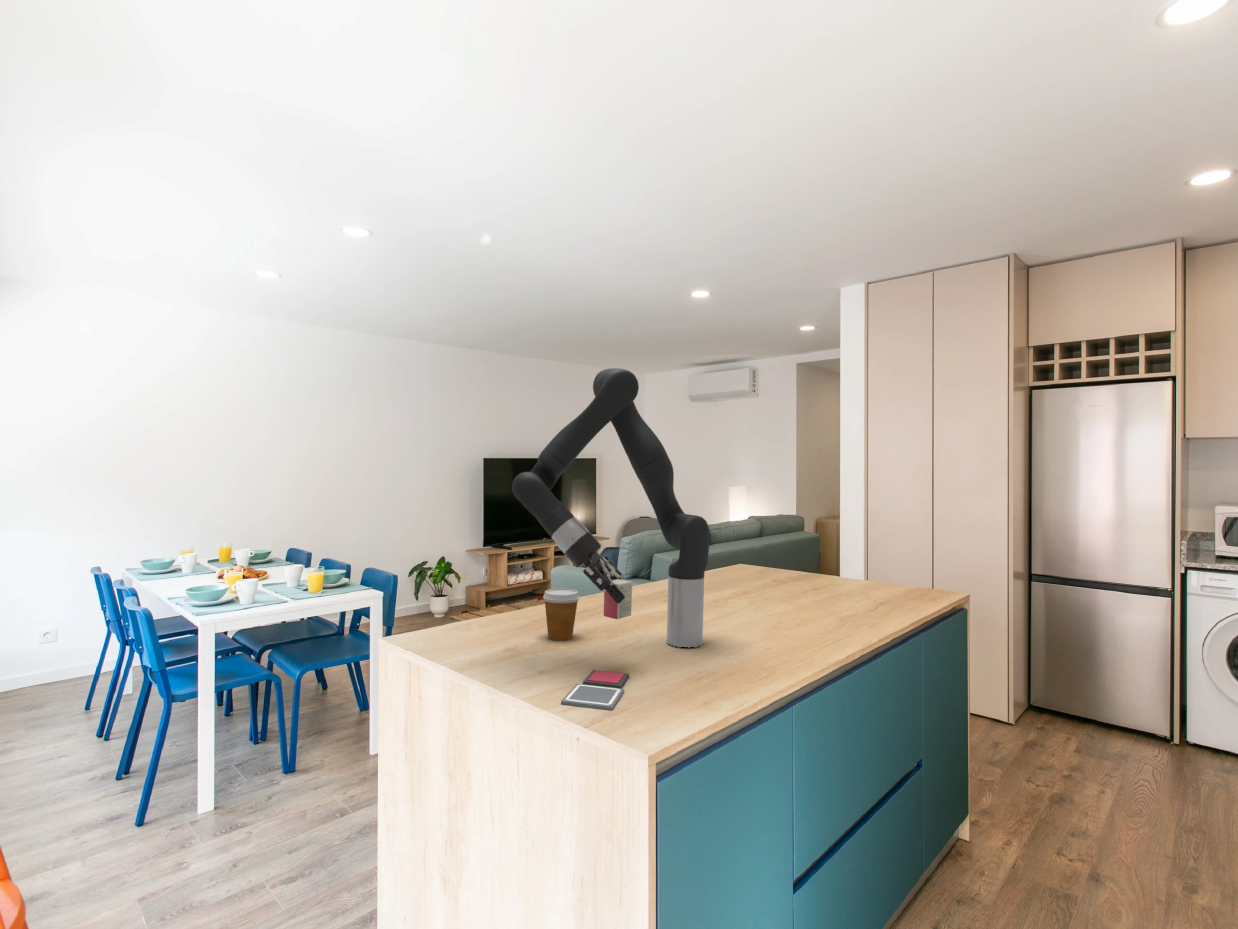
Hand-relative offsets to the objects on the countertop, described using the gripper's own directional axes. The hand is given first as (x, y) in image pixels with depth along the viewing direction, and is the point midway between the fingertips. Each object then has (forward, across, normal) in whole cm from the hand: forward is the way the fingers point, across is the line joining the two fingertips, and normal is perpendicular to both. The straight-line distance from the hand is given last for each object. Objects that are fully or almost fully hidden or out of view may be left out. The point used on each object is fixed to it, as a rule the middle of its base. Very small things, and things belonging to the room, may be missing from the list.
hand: (625, 597), depth 143 cm
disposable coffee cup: (-4, +20, +27) cm, 34 cm away
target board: (+10, -19, +12) cm, 25 cm away
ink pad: (+10, -9, +12) cm, 18 cm away
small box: (+2, 0, +4) cm, 5 cm away
